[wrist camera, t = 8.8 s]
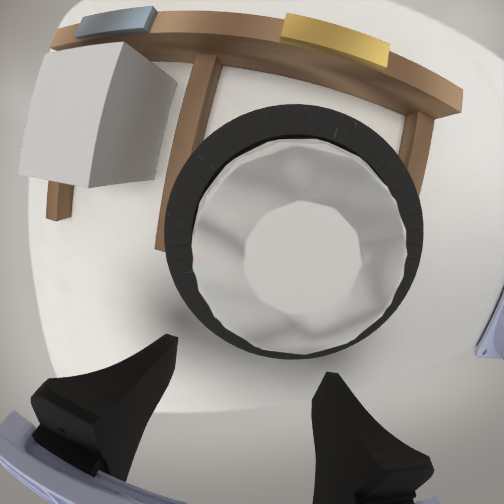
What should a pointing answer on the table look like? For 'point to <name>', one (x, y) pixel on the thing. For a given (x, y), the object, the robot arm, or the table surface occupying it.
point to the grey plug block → (96, 117)
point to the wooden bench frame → (265, 60)
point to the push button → (293, 231)
